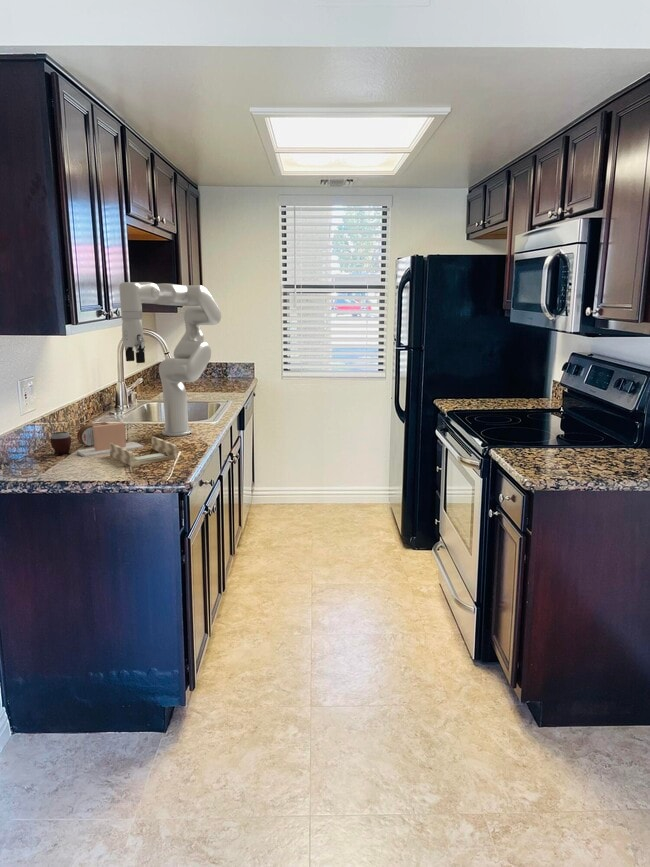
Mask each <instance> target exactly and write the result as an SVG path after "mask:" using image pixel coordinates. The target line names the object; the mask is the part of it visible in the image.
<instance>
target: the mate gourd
mask: <svg viewBox="0 0 650 867" xmlns="http://www.w3.org/2000/svg"><path fill="white" fill-rule="evenodd" d="M40 417H41V418H42V419H44V420H46V421H47V423H48V425H49V426H50V427H51V429H52V431H53V433H52V434H51V436H50V439H49V440H50V441H49V442H50V446H51V447H52V449H53V451H54V453H53V454H54V455H55V456H56V457H59V456H63V455H65V456H67V455H68V456H69V455H71V452H70V450H71V445H72V437H71V435H70V434H69V432H67V431H57V432H56V430H55V429H54V426H53V424H52V421H51V420H49V419H48V418H47V417H45V416H42V415H41V416H40Z"/></svg>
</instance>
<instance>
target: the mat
mask: <svg viewBox="0 0 650 867" xmlns="http://www.w3.org/2000/svg"><path fill="white" fill-rule="evenodd" d="M122 448H124V449H126V450H129V451H131V450H136V449H143V448H144V445H143V444H140V443H138V442H136V441H132V442H126V447H122ZM76 454H77V455H79V456H81V457H83V458H88V457H95V456H100V455H107V454H110V449H107V450H101V451H96V450H95V448H93V447H92V448H86V449H79V450H76Z"/></svg>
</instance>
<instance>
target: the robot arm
mask: <svg viewBox="0 0 650 867" xmlns="http://www.w3.org/2000/svg"><path fill="white" fill-rule="evenodd" d="M118 289H119V300H120V302H119V303H120V314H121V321H122V323H121V324H122V325H121V326H122V327H121V334H122V335H121V338H122V346H124V351H125V352H124V353H125V361H126V362H134V361H135V362H136V364H145V363H146V358H145V351H146V350H145V348H146V346H145V343H146V341H145V338H144V327H143V322H142V321H143V320H144V318H143V305H142V304H152V305H153V304H154V305H161V306H162V305H163V306H178V307H186V309H184V312H183V320H184V324H185V325H184V326H185V331H184V332H185V333H184V334H183V335H182V337H181V338H180V340H179V342H178V343H177V345H176V346H175V348H174V350H173V357H171V358H170V357H169V358H165V359H163V360H162V361H161V362H160V363H159V366H158V374H159V378H160V382H161V387H162V398H163V399H162V400H163V410H164V411H163V414H164V429H163V430H161V435H162V436H166V435H167V436H169V437H180V436H181V437H182V436H188V435H190V433H191V434H192V433H193V429H192V428H190V427H189V414H188V398H187V397H188V396H187V390H186V387H185V385H184V383H194V382H196V381H197V380H199V378H200V377H201V376H202V374H203V372H204V371H205V370H206V367H207V366H208V364H209V362H210V360H211V357H212V349H211V346H210V344H209V343H208V342H206V341H204V339H205V337H204V333H203V331H202V329H201V326H214V325H218V324H219V323H220V322H221V319H222V312H221V309H220V306H218V303H217V302H216V300H215V299H214V297H213V296H212V294H211V293H210V292H209V290H208V289H207V288H206V287H205V286H203V285H201V284H198V285H197V284H196V285H195V284H193V285H192V284H191V285H185V284H176V283H175V284H174V283H162V282H161V283H154V282H151V281H139V282H137V281H136V282H135V281H134V282H133V281H132V282H131V281H129V282H127V281H124V282H121V283H120V284H119V288H118ZM134 349H135V350H134ZM187 434H188V435H187ZM167 436H166V437H167Z"/></svg>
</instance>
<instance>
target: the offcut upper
mask: <svg viewBox="0 0 650 867" xmlns="http://www.w3.org/2000/svg"><path fill="white" fill-rule="evenodd" d="M158 453H159V454H156V453H152V454H153V455H150V454H146V455H147V456H144V455H140V456H141V457H139V456H135V458H134V461H141V460H146V459H152V458H158V457H163V456H166V455H164V454H161V452H158Z"/></svg>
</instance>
